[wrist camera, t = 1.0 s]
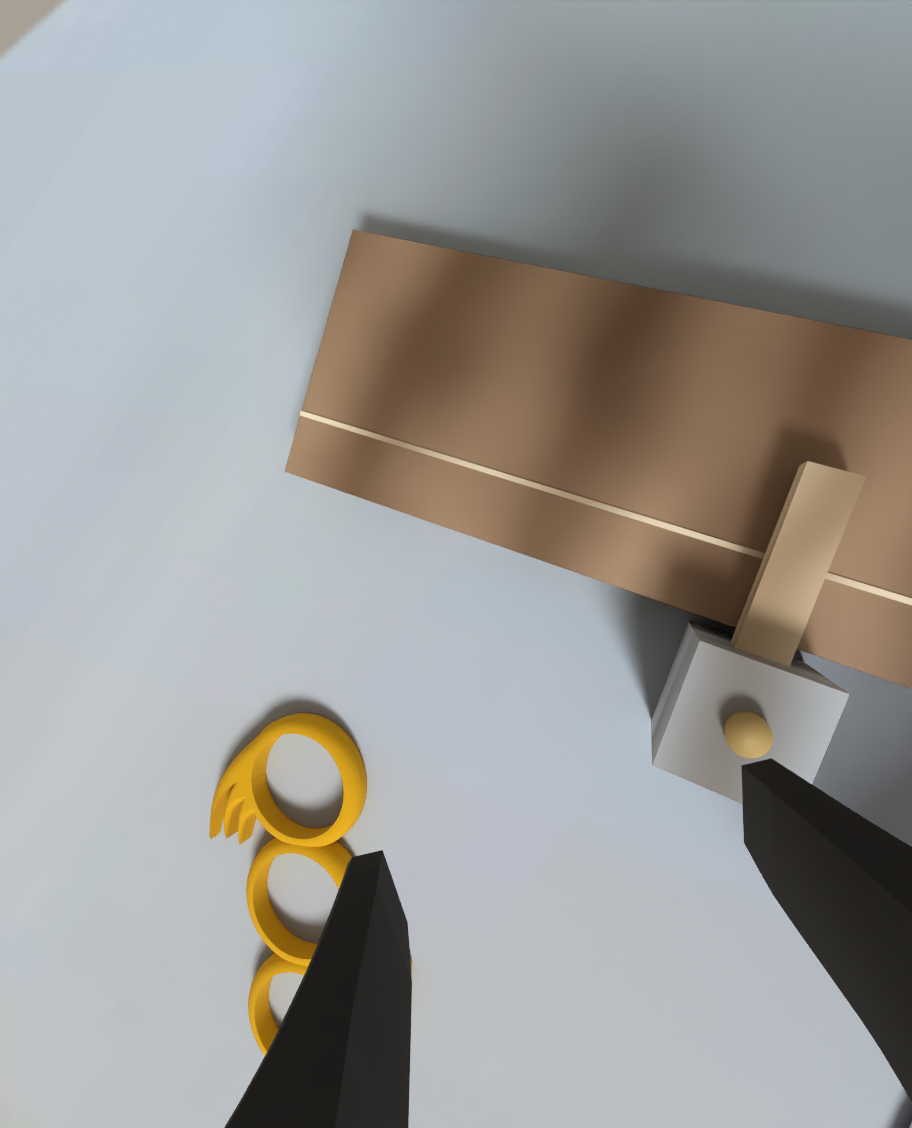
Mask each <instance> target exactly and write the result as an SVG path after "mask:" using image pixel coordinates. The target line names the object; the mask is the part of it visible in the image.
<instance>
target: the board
mask: <svg viewBox="0 0 912 1128" xmlns="http://www.w3.org/2000/svg"><path fill="white" fill-rule="evenodd" d="M807 461H809V462H813V463H817V464H821V465H825V466H829V467H832V468H836V469H840V470H844V471H848V472H852V473H855V474H859V475H863V476H866V478H865V481H864V483H863V486H862V488H861V491H860V493H859V496H858V498H857V501H856V503H855V506H854V508H853V511H852V513H851V516H850V518H849V520H848V523H847V525H846V528H845V530H844V533H843V535H842V538H841V540H840V543H839V545H838V548H837V550H836V553H835V555H834V558H833V560H832V563H831V565H830V568H829V570H828V573H827V575H826V577H825V580H824V582H823V585H822V587H821V590H820V592H819V595H818V597H817V600H816V602H815V605H814V607H813V610H812V612H811V615H810V617H809V620H808V622H807V625H806V627H805V630H804V632H803V635H802V637H801V639H800V642H799V644H798V647H797V649H799V650H802V651H804V652H807V653H810V654H813V655H816V656H819V657H822V658H825V659H828V660H830V661H833V662H836V663H839V664H842V665H845V666H848V667H851V668H853V669H856V670H859V671H862V672H865V673H868V674H871V675H874V676H877V677H879V678H882V679H885V680H888V681H891V682H894V683H897V684H900V685H903V686H905V687H908V688H911V689H912V339H907V338H901V337H896V336H891V335H886V334H881V333H876V332H871V331H866V330H861V329H856V328H851V327H845V326H840V325H835V324H830V323H825V322H820V321H815V320H810V319H805V318H800V317H795V316H790V315H784V314H779V313H774V312H769V311H764V310H759V309H754V308H749V307H744V306H739V305H734V304H728V303H723V302H718V301H713V300H708V299H703V298H698V297H693V296H688V295H683V294H678V293H672V292H667V291H662V290H657V289H652V288H647V287H642V286H637V285H632V284H627V283H622V282H616V281H611V280H606V279H601V278H596V277H591V276H586V275H581V274H576V273H571V272H566V271H560V270H555V269H550V268H545V267H540V266H535V265H530V264H525V263H520V262H515V261H510V260H504V259H499V258H494V257H489V256H484V255H479V254H474V253H469V252H464V251H459V250H454V249H449V248H443V247H438V246H433V245H428V244H423V243H418V242H413V241H408V240H403V239H398V238H393V237H387V236H382V235H377V234H372V233H367V232H362V231H357V230H353V231H352V235H351V238H350V242H349V245H348V249H347V252H346V256H345V259H344V263H343V266H342V270H341V274H340V277H339V281H338V284H337V288H336V291H335V295H334V298H333V302H332V305H331V309H330V312H329V316H328V319H327V323H326V327H325V330H324V334H323V337H322V341H321V344H320V348H319V351H318V355H317V358H316V362H315V365H314V369H313V372H312V376H311V379H310V383H309V387H308V390H307V394H306V397H305V401H304V404H303V408H302V411H301V412H300V418H299V422H298V425H297V429H296V432H295V436H294V440H293V443H292V447H291V450H290V454H289V457H288V461H287V464H286V468H285V472H288V473H291V474H293V475H296V476H299V477H302V478H305V479H308V480H311V481H314V482H317V483H319V484H322V485H325V486H328V487H331V488H334V489H337V490H340V491H342V492H345V493H348V494H351V495H354V496H357V497H360V498H363V499H366V500H368V501H371V502H374V503H377V504H380V505H383V506H386V507H389V508H392V509H394V510H397V511H400V512H403V513H406V514H409V515H412V516H415V517H418V518H420V519H423V520H426V521H429V522H432V523H435V524H438V525H441V526H444V527H446V528H449V529H452V530H455V531H458V532H461V533H464V534H467V535H470V536H472V537H475V538H478V539H481V540H484V541H487V542H490V543H493V544H496V545H498V546H501V547H504V548H507V549H510V550H513V551H516V552H519V553H521V554H524V555H527V556H530V557H533V558H536V559H539V560H542V561H545V562H547V563H550V564H553V565H556V566H559V567H562V568H565V569H568V570H571V571H573V572H576V573H579V574H582V575H585V576H588V577H591V578H594V579H597V580H599V581H602V582H605V583H608V584H611V585H614V586H617V587H620V588H623V589H625V590H628V591H631V592H634V593H637V594H640V595H643V596H646V597H649V598H651V599H654V600H657V601H660V602H663V603H666V604H669V605H672V606H675V607H677V608H680V609H683V610H686V611H689V612H692V613H695V614H698V615H700V616H703V617H706V618H709V619H712V620H715V621H718V622H721V623H724V624H726V625H729V626H732V627H735V628H736V627H737V625H738V622H739V620H740V617H741V614H742V612H743V609H744V607H745V604H746V602H747V599H748V596H749V594H750V591H751V589H752V586H753V584H754V581H755V578H756V576H757V573H758V571H759V568H760V566H761V563H762V560H763V558H764V555H765V553H766V550H767V548H768V545H769V542H770V540H771V537H772V535H773V532H774V530H775V527H776V524H777V522H778V519H779V517H780V514H781V512H782V509H783V506H784V504H785V501H786V499H787V496H788V494H789V491H790V488H791V486H792V483H793V481H794V478H795V476H796V473H797V470H798V468H799V466H800V465H801V464H803V463H805V462H807Z"/></svg>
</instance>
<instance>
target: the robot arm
mask: <svg viewBox="0 0 912 1128" xmlns="http://www.w3.org/2000/svg"><path fill="white" fill-rule="evenodd" d="M741 770H742V798H743V825H744V843H745V845H746V847H747V849H748V851H749V852H750V854H751V856H752V858H753V860H754V862H755V863H756V865H757V867H758V869H759V871H760V873H761V874H762V876H763V878H764V880H765V881H766V883H767V885H768V887H769V888H770V890H771V892H772V894H773V895H774V897H775V898H776V900H777V901H778V903H779V904H780V905H781V907H782V908H783V910H784V911H785V913H786V914H787V916H788V917H789V918H790V920H791V921H792V923H793V924H794V926H795V927H796V928H797V930H798V931H799V933H800V934H801V936H802V937H803V938H804V940H805V941H806V943H807V944H808V945H809V947H810V948H811V950H812V951H813V953H814V954H815V955H816V957H817V958H818V960H819V961H820V962H821V964H822V965H823V967H824V968H825V969H826V971H827V972H828V974H829V975H830V976H831V978H832V979H833V981H834V982H835V984H836V985H837V986H838V988H839V989H840V991H841V992H842V993H843V995H844V996H845V998H846V999H847V1000H848V1002H849V1003H850V1005H851V1006H852V1008H853V1009H854V1010H855V1012H856V1013H857V1015H858V1016H859V1017H860V1019H861V1020H862V1022H863V1023H864V1025H865V1026H866V1028H867V1029H868V1031H869V1032H870V1034H871V1035H872V1037H873V1038H874V1040H875V1041H876V1043H877V1045H878V1046H879V1048H880V1049H881V1051H882V1052H883V1054H884V1056H885V1057H886V1059H887V1061H888V1062H889V1064H890V1066H891V1067H892V1069H893V1071H894V1072H895V1074H896V1076H897V1077H898V1079H899V1081H900V1082H901V1084H902V1086H903V1087H904V1089H905V1091H906V1092H907V1094H908V1096H909V1097H910V1099H911V1101H912V847H911V846H909V845H908V844H906V843H904V842H903V841H901V840H899V839H898V838H896V837H894V836H893V835H891V834H889V833H888V832H886V831H884V830H883V829H881V828H880V827H878V826H876V825H875V824H873V823H871V822H870V821H868V820H867V819H865V818H863V817H862V816H860V815H858V814H857V813H855V812H854V811H852V810H851V809H849V808H847V807H846V806H844V805H843V804H841V803H840V802H838V801H837V800H835V799H833V798H832V797H830V796H829V795H827V794H826V793H824V792H823V791H821V790H820V789H818V788H817V787H815V786H813V785H812V784H810V783H809V782H807V781H806V780H804V779H803V778H801V777H800V776H798V775H797V774H795V773H794V772H792V771H790V770H789V769H787V768H786V767H784V766H783V765H781V764H780V763H778V762H777V761H775V760H773V759H772V758H771V759H766V760H762V761H758V762H754V763H749V764H745V765H741ZM411 995H412V978H411V963H410V949H409V936H408V924H407V920H406V917H405V914H404V911H403V908H402V905H401V902H400V900H399V897H398V894H397V891H396V888H395V885H394V882H393V879H392V876H391V873H390V871H389V868H388V865H387V862H386V859H385V856H384V853H383V850H381V851H377V852H373V853H369V854H364V855H360V856H356V857H352V858H351V860H350V861H349V862H348V864H347V867H346V870H345V873H344V876H343V879H342V882H341V885H340V888H339V891H338V893H337V896H336V899H335V901H334V904H333V907H332V909H331V912H330V915H329V917H328V920H327V922H326V925H325V927H324V930H323V932H322V935H321V937H320V939H319V942H318V944H317V947H316V949H315V951H314V954H313V956H312V958H311V961H310V963H309V965H308V968H307V970H306V972H305V975H304V977H303V979H302V981H301V984H300V986H299V988H298V990H297V992H296V994H295V996H294V998H293V1000H292V1003H291V1005H290V1007H289V1009H288V1011H287V1013H286V1015H285V1017H284V1019H283V1021H282V1024H281V1026H280V1028H279V1030H278V1032H277V1034H276V1036H275V1038H274V1040H273V1042H272V1044H271V1045H270V1047H269V1049H268V1051H267V1053H266V1055H265V1057H264V1059H263V1061H262V1063H261V1065H260V1066H259V1068H258V1070H257V1072H256V1074H255V1076H254V1077H253V1079H252V1081H251V1083H250V1085H249V1086H248V1088H247V1090H246V1092H245V1094H244V1095H243V1097H242V1099H241V1101H240V1102H239V1104H238V1106H237V1107H236V1109H235V1111H234V1113H233V1114H232V1116H231V1118H230V1119H229V1121H228V1123H227V1124H226V1126H225V1128H408V1115H409V1077H410V1039H411ZM909 1128H912V1123H911V1125H910V1127H909Z"/></svg>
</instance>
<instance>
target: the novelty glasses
mask: <svg viewBox="0 0 912 1128" xmlns="http://www.w3.org/2000/svg"><path fill="white" fill-rule="evenodd" d="M288 733H295V734H301V735H305V736H307V737H310V738H312V739H314V740H315V741H317V742H318V743H320V744H321V745H322V746H323V747H324V748H325V749H326V750H327V751H328V752H329V753H330V755H331V756H332V757H333V759H334V760H335V762H336V764H337V766H338V768H339V771H340V774H341V777H342V782H343V793H344V796H343V804H342V808H341V811H340V814H339V816H338V818H337V820H336V821H335V823H334V824H333V825H330V826H328V827H325V828H317V829H316V828H307V827H304V826H301V825H298V824H296V823H295V822H293V821H292V820H290V819H289V818H287V817H286V816H285V815H284V814H283V813H282V812H281V811H280V809H279V808H278V807H277V805H276V804H275V802H274V800H273V799H272V797H271V794H270V791H269V789H268V784H267V779H266V764H267V759H268V755H269V752H270V750H271V748H272V746H273V744H274V743H275V742H276V740H277V739H278V738H279V737H280V736H281V735H282V734H288ZM366 793H367V776H366V771H365V766H364V763H363V760H362V757H361V755H360V752H359V750H358V748H357V747H356V745H355V743H354V742H353V740H352V739H351V738H350V737H349V735H348V734H347V733H346V732H345V731H344V730H343V729H342V728H341V727H339V726H338V725H337V724H335V723H334V722H332V721H331V720H329V719H327V718H325V717H322V716H320V715H316V714H311V713H296V714H291V715H287V716H285V717H282V718H280V719H278V720H276V721H274V722H272V723H271V724H269V725H268V726H267V727H265V728H264V729H263V730H262V731H261V732H260V734H259V735H258V736H257V737H256V738H255V739H253V740H252V741H251V742H250V743H249V744H248V745H247V746H246V747H245V748H244V749H243V750H242V751H241V752H240V753H239V754H238V755H237V756H236V757H235V758H234V760H233V761H232V762H231V764H230V765H229V766H228V768H227V769H226V771H225V772H224V774H223V776H222V777H221V779H220V781H219V784H218V786H217V789H216V792H215V795H214V799H213V804H212V810H211V818H210V838H211V839H212V838H213V837H215V836H216V835H218V834H219V832H220V830H221V826H222V822H223V818H224V831H225V836H226V838H228V837H230V836H231V835H233V834H234V833H236V832H237V831H238V837H239V844H241V843H243V842H244V841H246V840H247V839H248V838H250V837H251V836H252V832H253V828H254V824H255V820H256V817H257V819H258V820H259V821H260V823H261V824H262V825H263V826H264V828H265V829H266V830H267V831H268V832H269V833H271V834H272V835H273V836H274V837H275V838H273V839H272V840H271V841H270V842H268V843H267V844H266V845H265V846H264V847H263V848H262V849H261V850H260V851H259V853H258V854H257V856H256V857H255V859H254V861H253V863H252V865H251V868H250V871H249V875H248V879H247V903H248V909H249V912H250V916H251V919H252V921H253V924H254V926H255V928H256V930H257V932H258V933H259V935H260V936H261V938H262V939H263V941H264V942H265V943H266V944H267V945H268V947H269V948H270V949H271V950H272V951H274V953H273V954H272V955H271V956H270V957H269V958H268V959H267V960H266V961H265V962H264V963H263V964H262V966H261V967H260V968H259V970H258V971H257V973H256V975H255V977H254V980H253V982H252V985H251V989H250V994H249V1002H248V1011H249V1018H250V1024H251V1028H252V1031H253V1034H254V1037H255V1039H256V1042H257V1044H258V1045H259V1047H260V1049H261V1051H262V1052H263V1054H264V1055H266V1053H267V1051H268V1049H269V1047H270V1045H271V1044H272V1042H273V1040H274V1038H275V1036H276V1034H277V1032H278V1030H279V1029H278V1027H277V1025H276V1023H275V1021H274V1019H273V1016H272V1012H271V1009H270V1003H269V987H270V983H271V980H272V977H273V976H274V975H276V974H280V973H284V972H294V973H299V974H302V975H305V972H306V970H307V968H308V965H309V963H310V961H311V958H312V956H313V954H314V951H315V949H316V947H317V944H316V943H310V942H306V941H304V940H302V939H300V938H298V937H296V936H295V935H293V934H292V933H291V932H289V931H288V930H287V929H286V928H285V927H284V925H283V924H282V923H281V922H280V921H279V919H278V918H277V916H276V914H275V912H274V910H273V908H272V906H271V903H270V899H269V895H268V889H267V879H268V873H269V868H270V866H271V863H272V861H273V859H274V858H275V856H277V855H280V854H284V853H296V854H301V855H304V856H307V857H309V858H311V859H313V860H314V861H316V862H317V863H319V864H320V865H321V866H322V867H323V868H325V870H326V871H327V872H328V873H329V874H330V875H331V877H332V878H333V879H334V881H335V883H336V885H337V887H338V889H339V888H340V885H341V882H342V879H343V876H344V873H345V870H346V867H347V864H348V862H349V861H350V860H351V858H352V856H351V854H350V853H349V852H348V851H347V850H346V849H345V848H344V847H343V846H342V845H341V844H340V843H339V842H338V841H336V840H338V839H339V838H341V837H342V836H343V835H344V834H345V833H347V832H348V831H349V829H350V828H351V827H352V826H353V825H354V824H355V822H356V821H357V820H358V818H359V816H360V814H361V812H362V809H363V807H364V804H365V799H366ZM410 963H411V966H412V960H411V962H410Z"/></svg>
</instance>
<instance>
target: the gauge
mask: <svg viewBox="0 0 912 1128" xmlns="http://www.w3.org/2000/svg"><path fill="white" fill-rule="evenodd" d="M865 478H866V476H863V475H859V474H855V473H852V472H848V471H844V470H840V469H836V468H832V467H829V466H825V465H821V464H817V463H813V462H809V461H807V462H805V463H803V464H801V465H800V466H799V468H798V470H797V473H796V476H795V478H794V481H793V483H792V486H791V488H790V491H789V494H788V496H787V499H786V501H785V504H784V506H783V509H782V512H781V514H780V517H779V519H778V522H777V524H776V527H775V530H774V532H773V535H772V537H771V540H770V542H769V545H768V548H767V550H766V553H765V555H764V558H763V560H762V563H761V566H760V568H759V571H758V573H757V576H756V578H755V581H754V584H753V586H752V589H751V591H750V594H749V596H748V599H747V602H746V604H745V607H744V609H743V612H742V614H741V617H740V620H739V622H738V625H737V627H736V630H735V632H734V635H733V637H731V636H728V635H725V634H722V633H719V632H717V631H714V630H711V629H708V628H705V627H702V626H699V625H697V624H694V623H691V622H688V624H687V627H686V630H685V632H684V635H683V638H682V640H681V643H680V646H679V648H678V651H677V654H676V656H675V659H674V661H673V664H672V667H671V669H670V672H669V675H668V677H667V680H666V683H665V685H664V688H663V691H662V693H661V696H660V698H659V701H658V704H657V706H656V709H655V712H654V714H653V717H652V720H651V732H652V765H653V766H655V767H658V768H660V769H662V770H665V771H667V772H669V773H672V774H674V775H676V776H679V777H681V778H683V779H686V780H688V781H690V782H693V783H695V784H697V785H700V786H702V787H705V788H707V789H709V790H712V791H714V792H716V793H719V794H721V795H723V796H726V797H728V798H730V799H733V800H735V801H737V802H740V803H742V804H743V798H742V770H741V765H745V764H749V763H754V762H758V761H762V760H766V759H771V758H772V759H773V760H775V761H777V762H778V763H780V764H781V765H783V766H784V767H786V768H787V769H789V770H790V771H792V772H794V773H795V774H797V775H798V776H800V777H801V778H803V779H804V780H806V781H807V782H809V783H810V784H812V783H813V781H814V779H815V776H816V774H817V772H818V769H819V767H820V764H821V762H822V760H823V757H824V755H825V752H826V750H827V748H828V745H829V743H830V740H831V738H832V736H833V733H834V731H835V729H836V726H837V724H838V721H839V719H840V717H841V714H842V712H843V709H844V707H845V705H846V702H847V700H848V697H849V695H850V694H848V693H847V692H846V691H844V690H843V689H841V688H840V687H839V686H837V685H836V684H834V683H833V682H831V681H830V680H829V679H827V678H826V677H824V676H823V675H821V674H820V673H819V672H817V671H816V670H814V669H813V668H811V667H810V666H809V665H807V664H806V663H804V662H802V661H799V660H796V659H793V657H794V654H795V652H796V649H797V647H798V644H799V642H800V639H801V637H802V635H803V632H804V630H805V627H806V625H807V622H808V620H809V617H810V615H811V612H812V610H813V607H814V605H815V602H816V600H817V597H818V595H819V592H820V590H821V587H822V585H823V582H824V580H825V577H826V575H827V573H828V570H829V568H830V565H831V563H832V560H833V558H834V555H835V553H836V550H837V548H838V545H839V543H840V540H841V538H842V535H843V533H844V530H845V528H846V525H847V523H848V520H849V518H850V516H851V513H852V511H853V508H854V506H855V503H856V501H857V498H858V496H859V493H860V491H861V488H862V486H863V483H864V481H865Z"/></svg>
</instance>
